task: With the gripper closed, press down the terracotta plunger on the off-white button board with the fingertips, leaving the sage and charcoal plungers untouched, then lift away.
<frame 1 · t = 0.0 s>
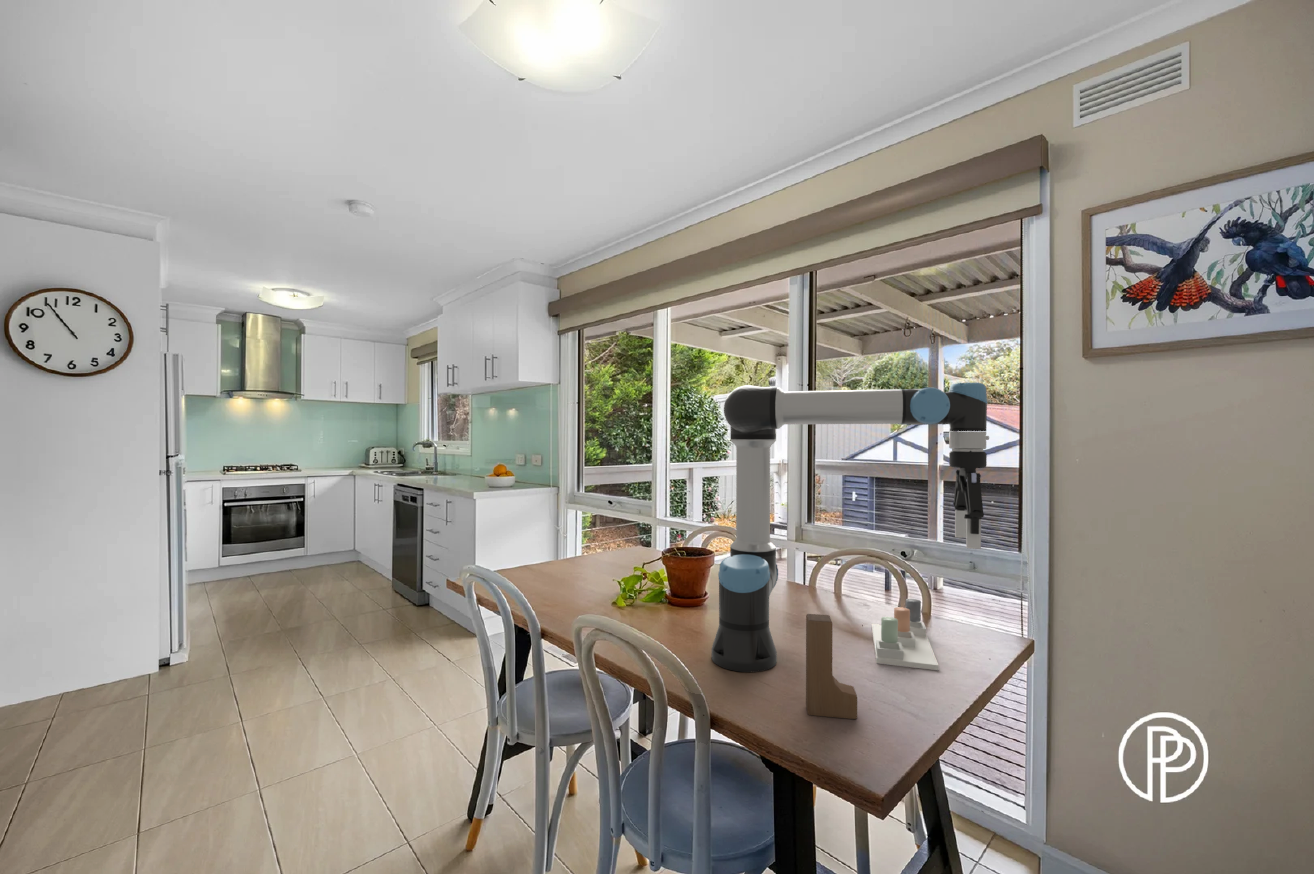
hand: (967, 542, 131), 28 cm above the table, fingers open, 13 cm apart
charcoal plunger: (913, 610, 149), point 7 cm above the table, slide at 0.0 cm
button board: (901, 647, 142), on the table
sage plunger: (889, 629, 134), point 7 cm above the table, slide at 0.0 cm
terracotta plunger: (901, 619, 142), point 7 cm above the table, slide at 0.0 cm
wooden block: (830, 713, 109), on the table
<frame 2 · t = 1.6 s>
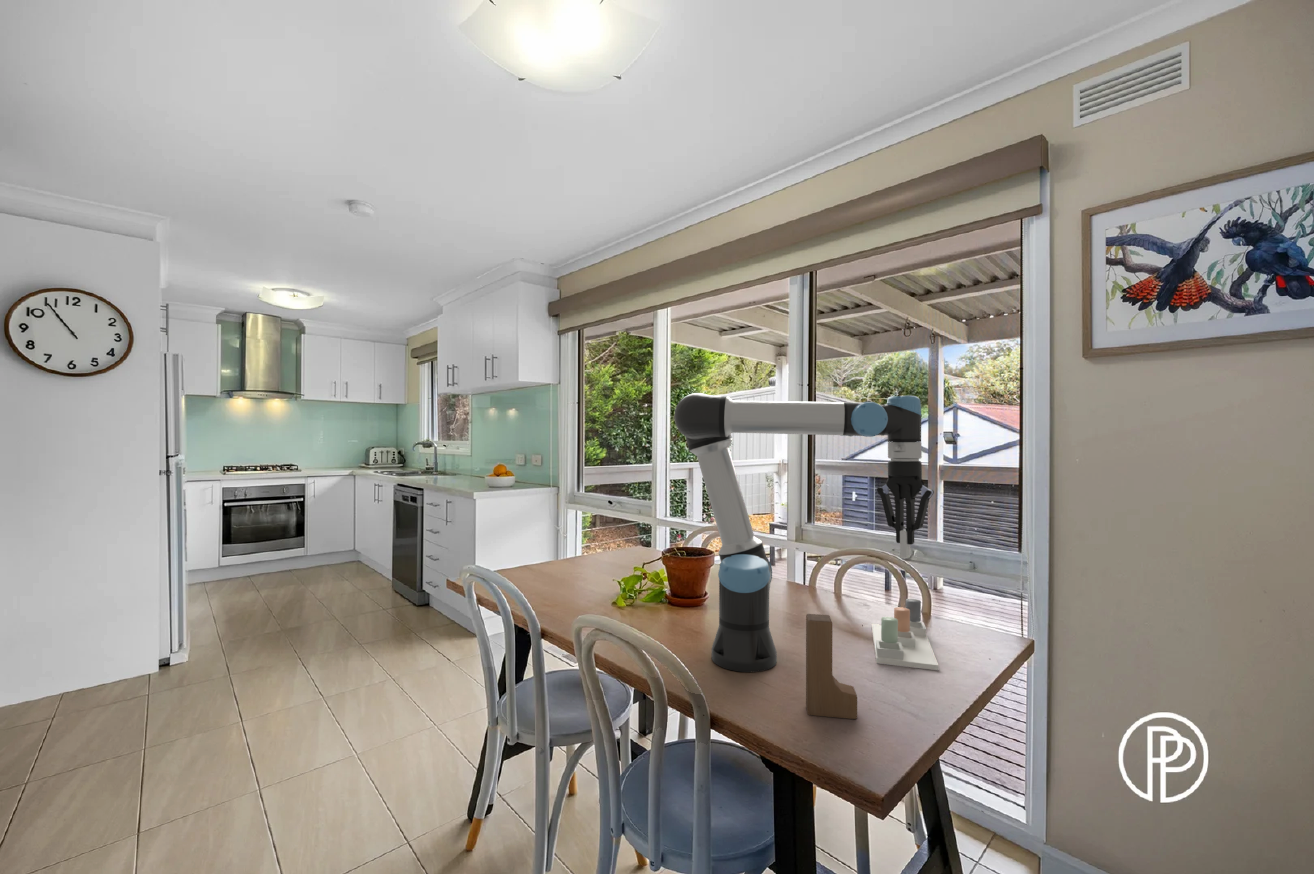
hand: (905, 557, 138), 23 cm above the table, fingers closed
nothing on the table moved.
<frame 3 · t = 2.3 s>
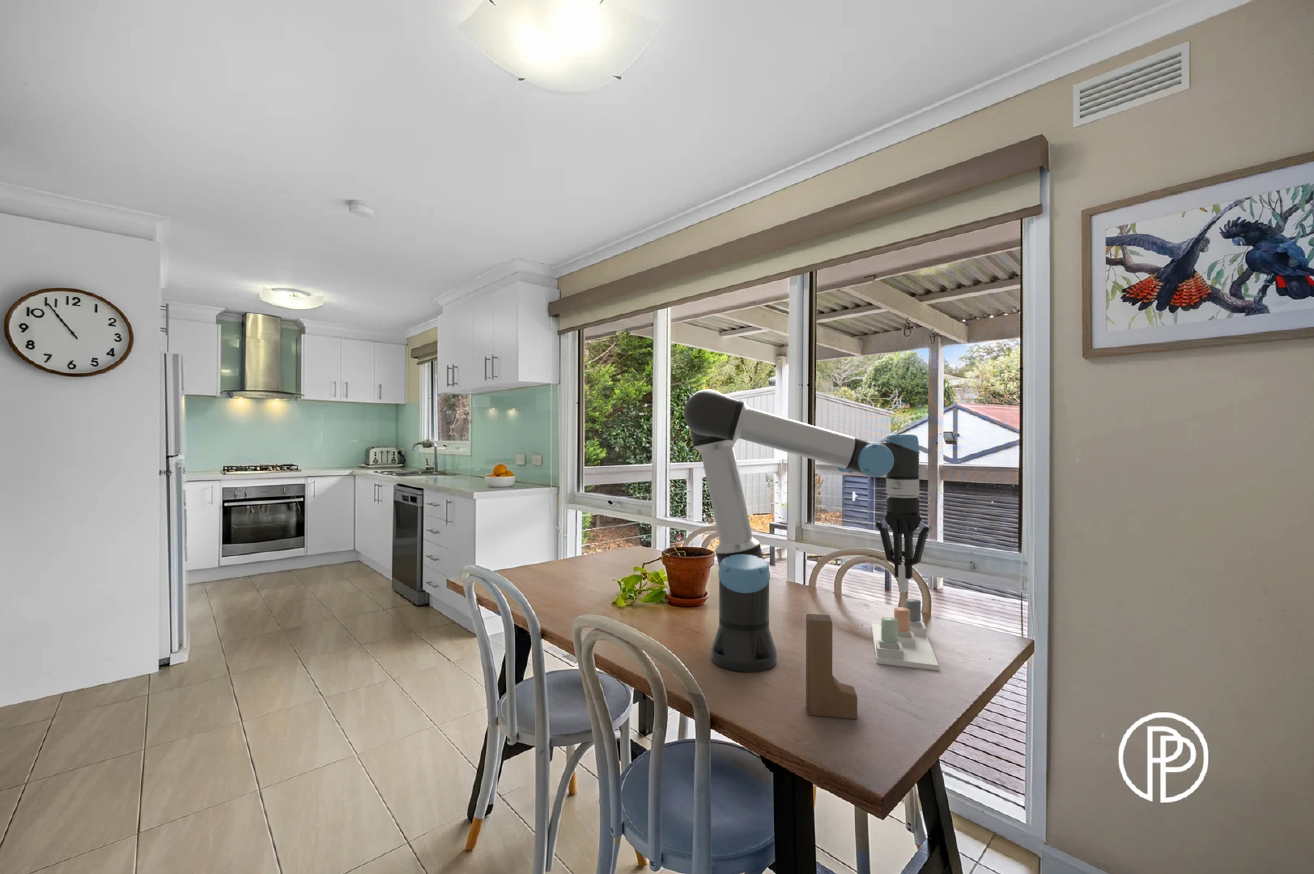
hand: (903, 590, 142), 14 cm above the table, fingers closed
nothing on the table moved.
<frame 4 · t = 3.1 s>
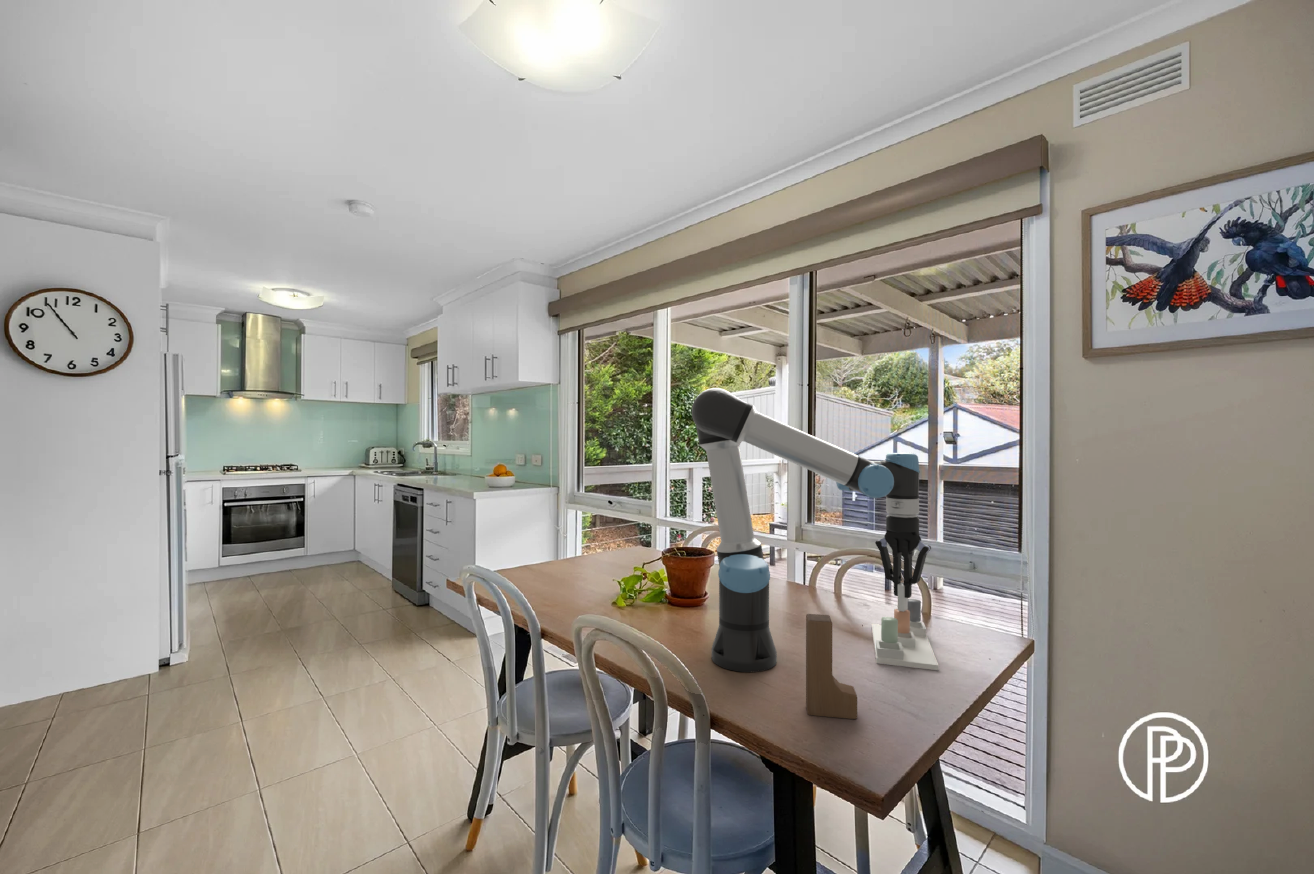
hand: (902, 609, 142), 9 cm above the table, fingers closed
terracotta plunger: (901, 620, 142), point 7 cm above the table, slide at 0.4 cm, touching gripper
everything else where it was.
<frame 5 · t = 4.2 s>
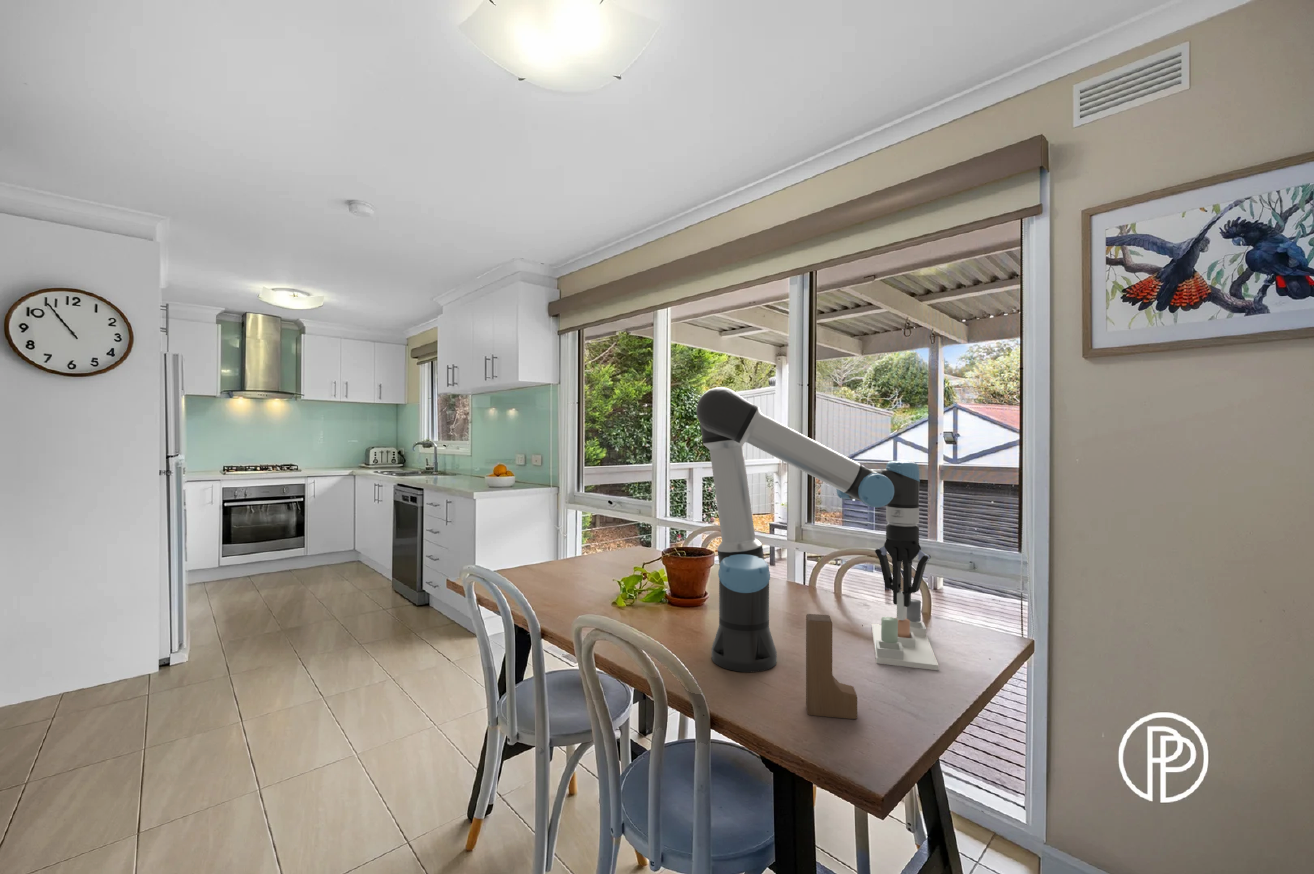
hand: (901, 618, 142), 7 cm above the table, fingers closed
terracotta plunger: (901, 629, 142), point 4 cm above the table, slide at 2.6 cm
everything else where it was.
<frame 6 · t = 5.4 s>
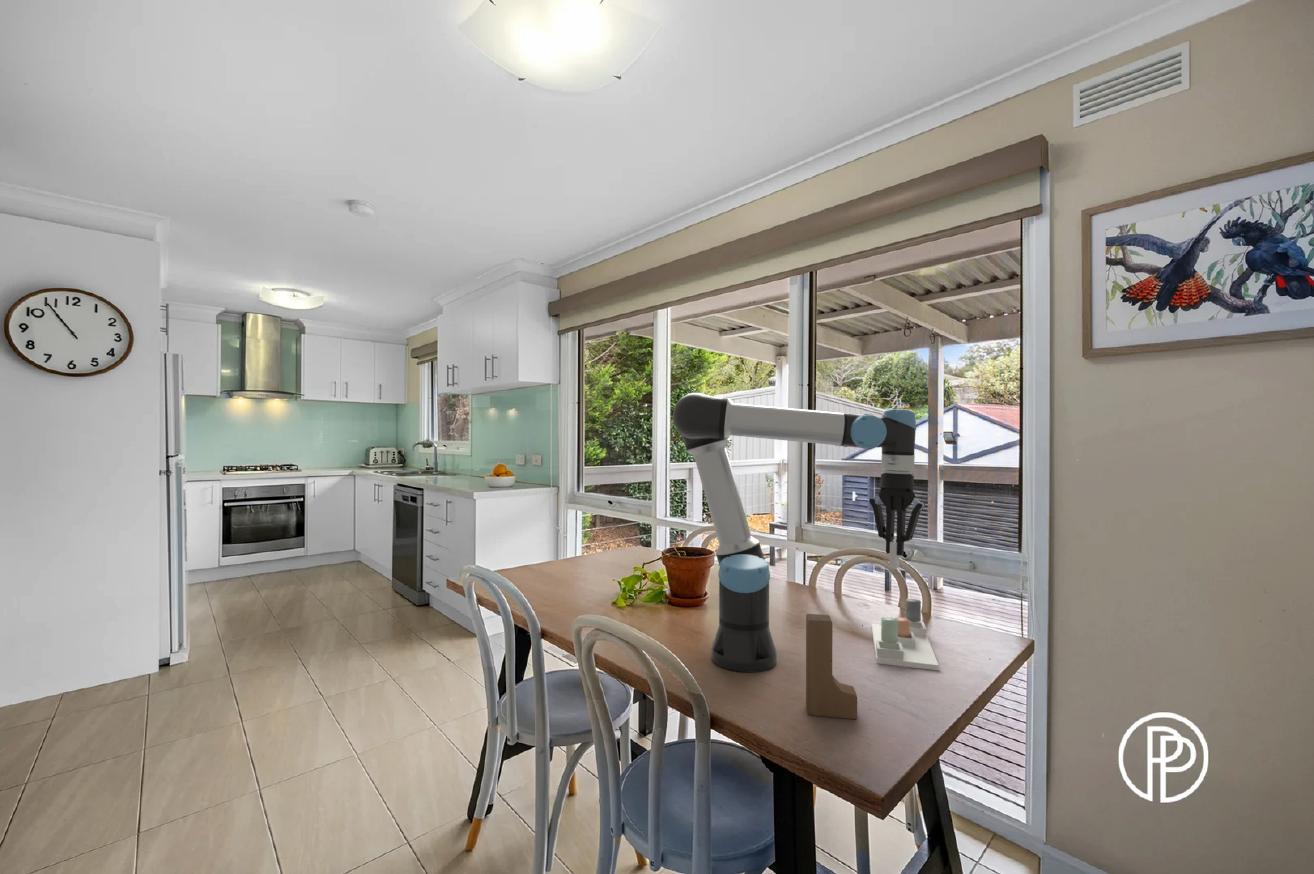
hand: (894, 567, 141), 20 cm above the table, fingers closed
nothing on the table moved.
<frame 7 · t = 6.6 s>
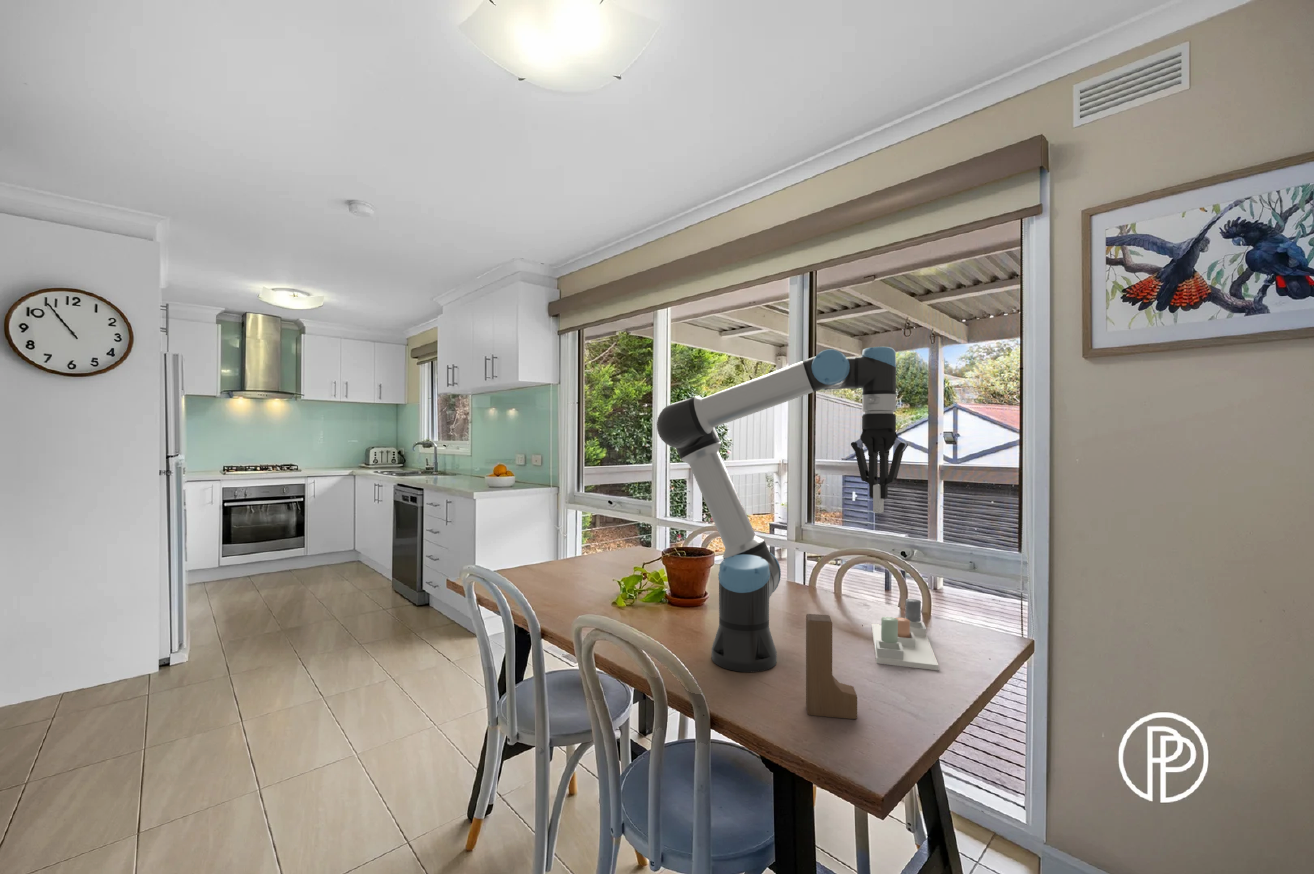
hand: (878, 512, 136), 34 cm above the table, fingers closed
nothing on the table moved.
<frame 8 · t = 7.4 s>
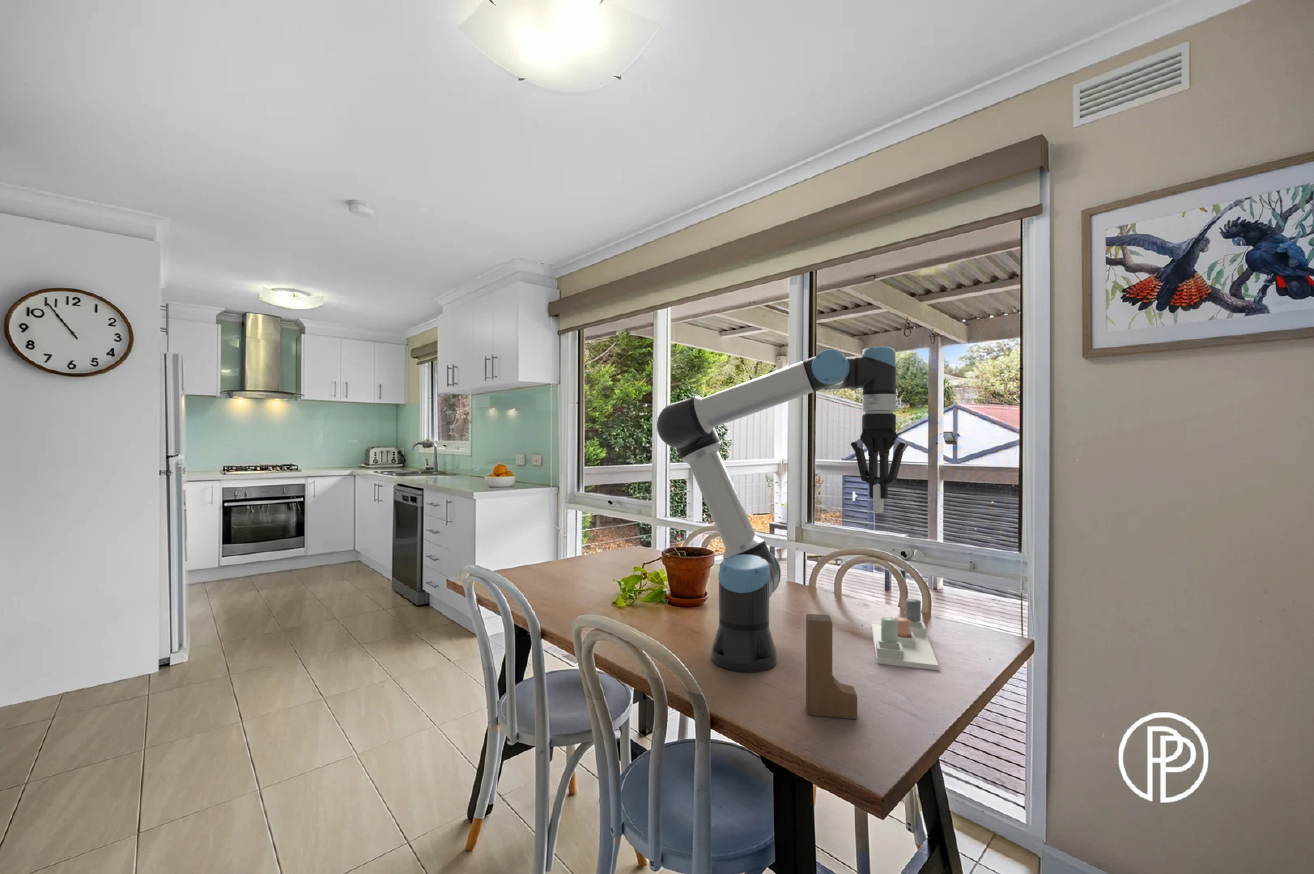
hand: (878, 512, 136), 34 cm above the table, fingers closed
nothing on the table moved.
at the end: terracotta plunger slide at 2.6 cm; sage plunger slide at 0.0 cm; charcoal plunger slide at 0.0 cm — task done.
